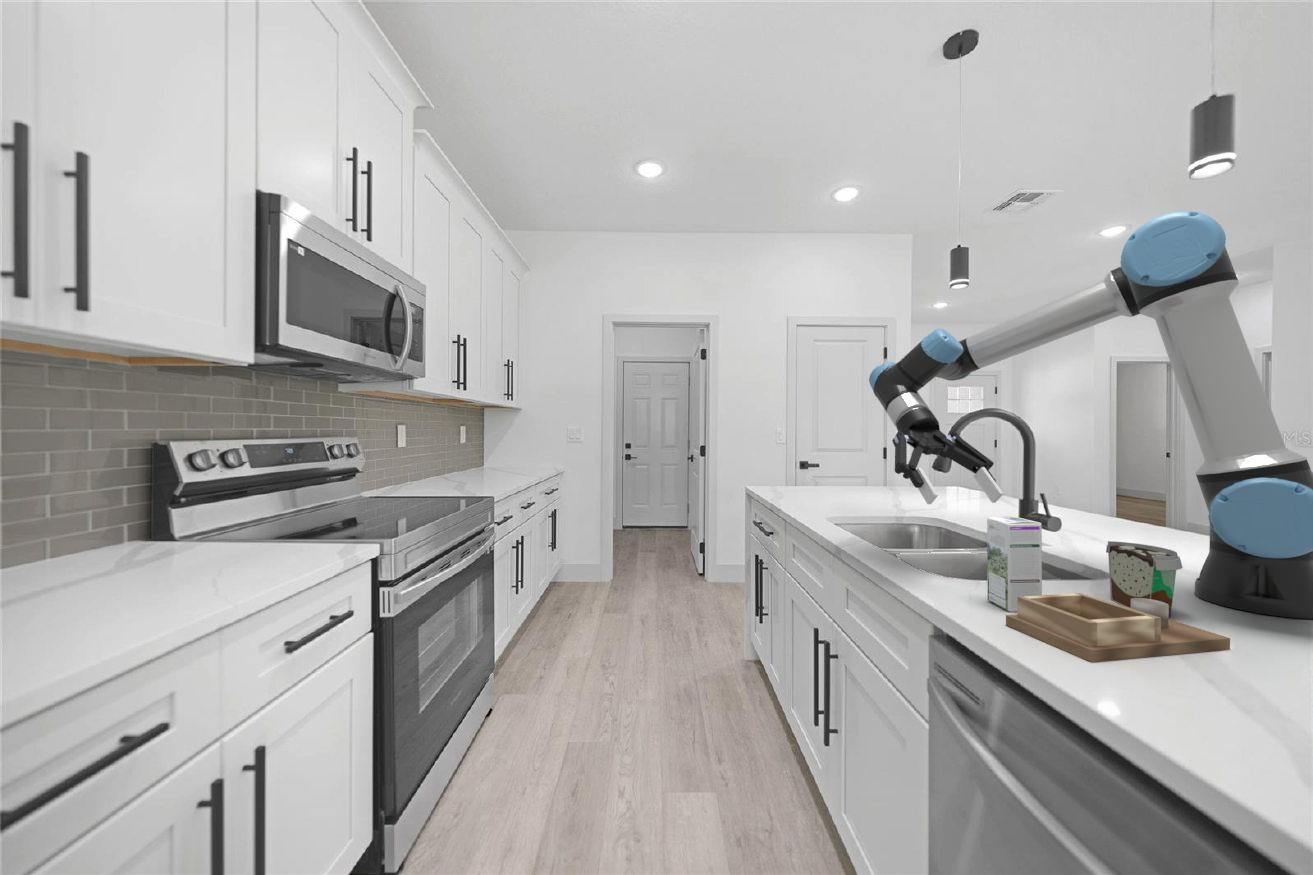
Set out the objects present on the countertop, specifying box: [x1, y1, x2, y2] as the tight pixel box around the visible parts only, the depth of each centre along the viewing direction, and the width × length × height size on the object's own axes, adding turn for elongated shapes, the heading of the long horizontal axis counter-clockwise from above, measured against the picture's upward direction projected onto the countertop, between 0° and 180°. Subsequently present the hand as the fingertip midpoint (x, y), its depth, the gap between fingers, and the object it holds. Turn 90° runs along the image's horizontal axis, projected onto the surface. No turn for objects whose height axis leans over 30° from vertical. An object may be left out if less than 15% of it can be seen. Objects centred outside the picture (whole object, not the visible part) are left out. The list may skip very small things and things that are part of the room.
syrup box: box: [986, 516, 1043, 613], centre depth 88 cm, size 6×6×14 cm
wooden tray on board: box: [1005, 592, 1231, 663], centre depth 75 cm, size 22×13×4 cm, turn 100°
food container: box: [1105, 540, 1183, 619], centre depth 86 cm, size 12×6×10 cm, turn 168°
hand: (965, 499), depth 98 cm, fingers open, 13 cm apart
